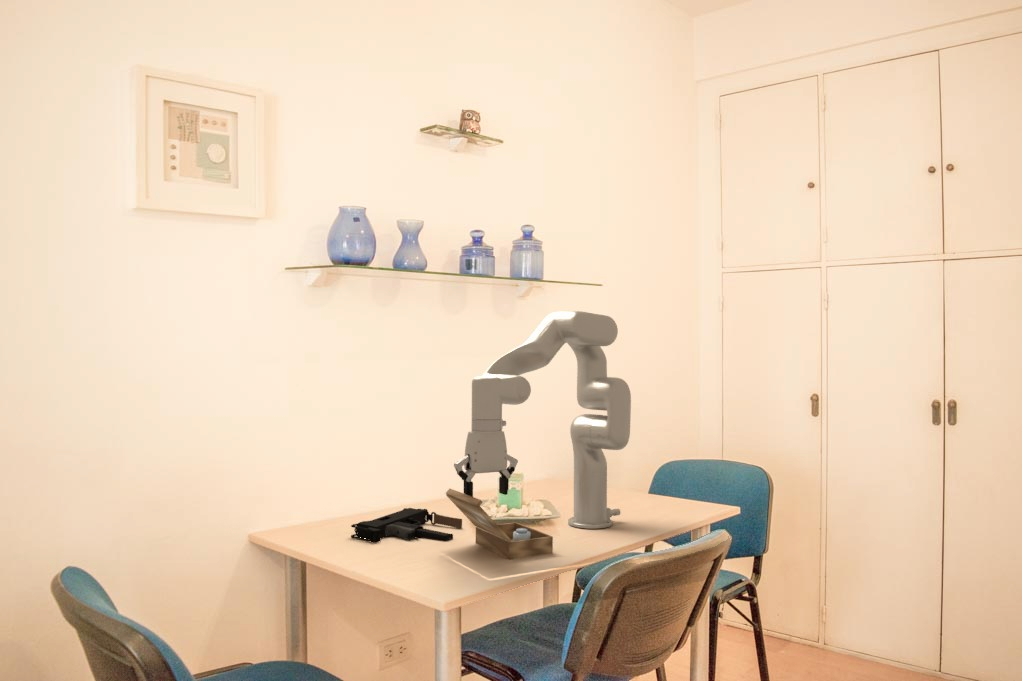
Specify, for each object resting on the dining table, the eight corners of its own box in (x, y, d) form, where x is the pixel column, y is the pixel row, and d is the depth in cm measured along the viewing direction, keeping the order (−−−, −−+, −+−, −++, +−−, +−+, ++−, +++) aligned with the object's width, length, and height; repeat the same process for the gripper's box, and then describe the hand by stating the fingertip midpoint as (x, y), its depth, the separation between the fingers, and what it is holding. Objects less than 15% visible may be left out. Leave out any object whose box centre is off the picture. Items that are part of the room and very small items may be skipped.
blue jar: (524, 543, 202) (524, 526, 202) (533, 547, 198) (533, 530, 198) (509, 545, 199) (510, 528, 200) (518, 549, 196) (518, 532, 196)
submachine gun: (486, 516, 221) (414, 502, 233) (425, 540, 196) (348, 523, 208) (485, 532, 221) (413, 517, 233) (425, 558, 196) (347, 540, 208)
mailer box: (516, 539, 208) (516, 522, 208) (552, 555, 193) (552, 536, 193) (475, 544, 202) (475, 527, 202) (510, 561, 187) (510, 542, 187)
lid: (448, 487, 199) (443, 493, 198) (481, 500, 183) (476, 506, 182) (479, 520, 203) (474, 526, 202) (514, 535, 187) (509, 541, 186)
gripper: (509, 423, 201) (509, 490, 201) (448, 426, 193) (447, 496, 193) (524, 426, 195) (524, 495, 195) (461, 429, 186) (461, 501, 186)
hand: (486, 495), depth 194 cm, fingers open, 9 cm apart
